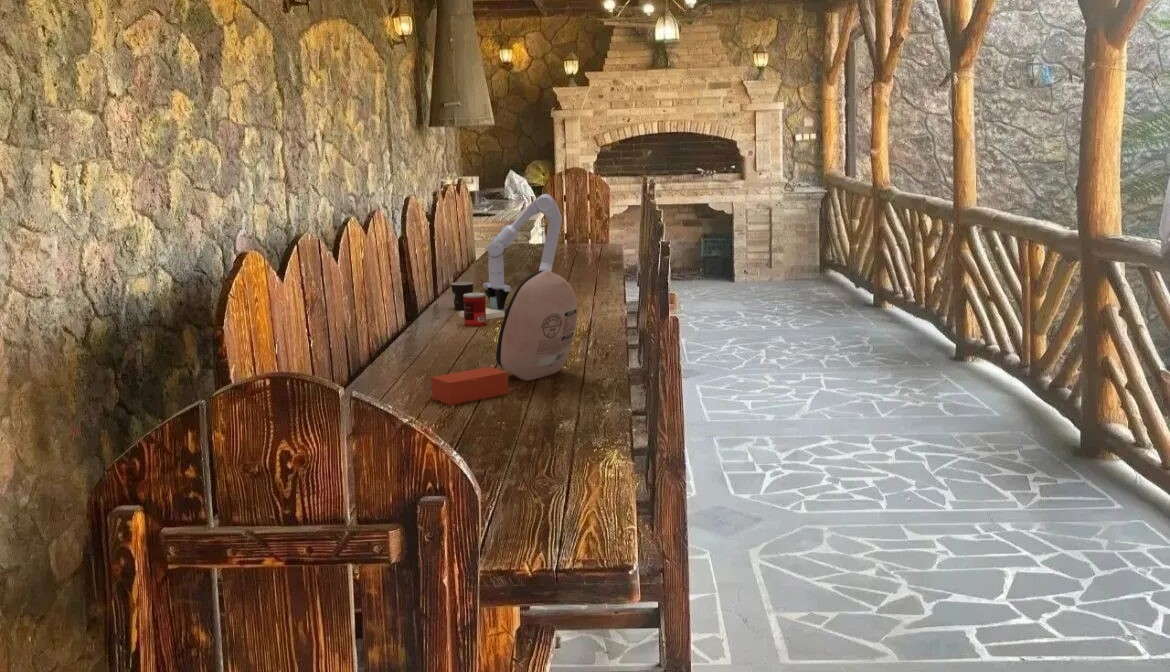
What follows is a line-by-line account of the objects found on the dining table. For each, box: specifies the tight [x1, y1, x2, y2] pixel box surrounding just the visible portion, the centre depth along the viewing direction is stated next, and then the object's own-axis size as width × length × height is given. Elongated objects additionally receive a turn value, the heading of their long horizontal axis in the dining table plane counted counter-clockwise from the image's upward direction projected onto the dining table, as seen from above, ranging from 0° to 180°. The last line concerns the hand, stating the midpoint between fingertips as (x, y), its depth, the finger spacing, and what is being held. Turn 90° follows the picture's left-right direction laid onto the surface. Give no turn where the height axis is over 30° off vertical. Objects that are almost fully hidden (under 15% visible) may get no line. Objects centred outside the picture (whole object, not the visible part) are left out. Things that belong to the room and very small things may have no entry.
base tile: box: [458, 307, 506, 320], centre depth 393 cm, size 12×12×2 cm
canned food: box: [463, 292, 487, 327], centre depth 376 cm, size 8×8×11 cm
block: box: [489, 296, 506, 313], centre depth 401 cm, size 4×4×6 cm
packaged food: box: [495, 270, 579, 382], centre depth 291 cm, size 22×20×30 cm
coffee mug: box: [450, 281, 474, 311], centre depth 412 cm, size 12×9×10 cm
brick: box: [430, 366, 509, 406], centre depth 273 cm, size 18×9×6 cm, turn 129°
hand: (497, 308), depth 401 cm, fingers closed on block, 4 cm apart
